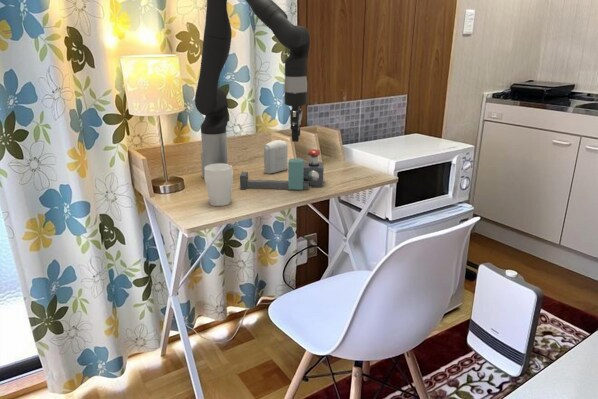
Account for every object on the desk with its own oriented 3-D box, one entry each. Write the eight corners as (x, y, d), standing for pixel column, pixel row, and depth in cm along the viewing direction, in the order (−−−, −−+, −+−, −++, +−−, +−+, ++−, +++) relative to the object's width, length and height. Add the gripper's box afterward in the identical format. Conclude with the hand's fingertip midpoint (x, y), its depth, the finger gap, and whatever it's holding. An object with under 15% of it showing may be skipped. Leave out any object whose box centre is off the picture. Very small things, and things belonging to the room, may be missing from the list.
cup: (209, 209, 144) (207, 172, 140) (203, 200, 152) (201, 165, 148) (237, 205, 148) (236, 169, 144) (230, 196, 156) (228, 162, 151)
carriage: (288, 189, 161) (288, 162, 158) (289, 185, 166) (289, 158, 162) (302, 189, 161) (302, 162, 158) (303, 185, 165) (303, 158, 162)
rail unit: (240, 189, 162) (239, 170, 160) (246, 178, 175) (246, 160, 172) (322, 191, 161) (323, 172, 158) (323, 180, 173) (323, 162, 170)
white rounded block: (282, 167, 189) (281, 137, 184) (289, 169, 186) (289, 139, 181) (262, 172, 182) (261, 141, 178) (269, 174, 179) (269, 143, 175)
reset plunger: (307, 171, 166) (307, 152, 163) (308, 168, 170) (308, 149, 167) (319, 172, 165) (320, 152, 163) (320, 168, 169) (320, 149, 167)
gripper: (286, 87, 159) (287, 134, 164) (282, 92, 145) (283, 143, 151) (308, 87, 158) (308, 134, 164) (306, 92, 145) (306, 143, 150)
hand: (296, 138), depth 157 cm, fingers open, 8 cm apart
